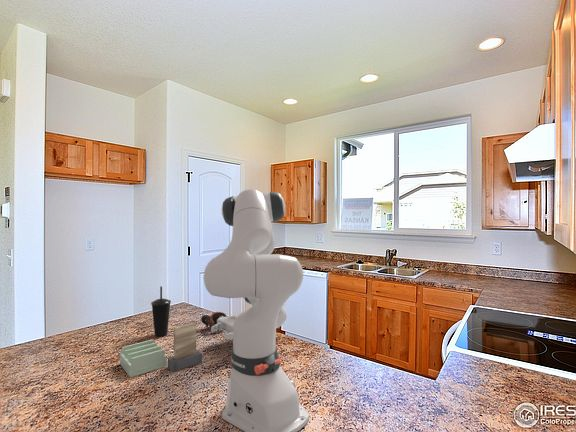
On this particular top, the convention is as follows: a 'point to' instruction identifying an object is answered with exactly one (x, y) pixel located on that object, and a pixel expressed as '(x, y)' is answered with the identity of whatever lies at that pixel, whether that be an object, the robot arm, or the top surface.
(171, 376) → the top surface
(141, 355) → the dish rack
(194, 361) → the board stand
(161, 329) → the drinking cup
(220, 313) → the pottery mug
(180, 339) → the maple board
